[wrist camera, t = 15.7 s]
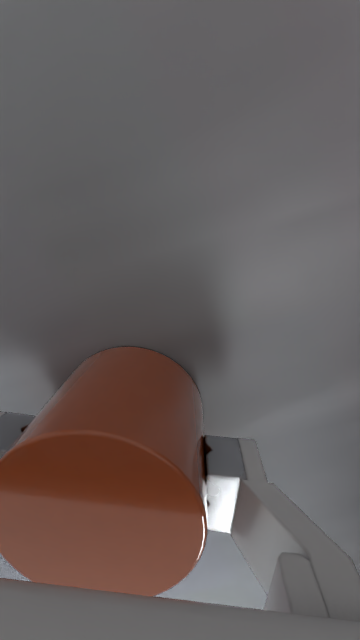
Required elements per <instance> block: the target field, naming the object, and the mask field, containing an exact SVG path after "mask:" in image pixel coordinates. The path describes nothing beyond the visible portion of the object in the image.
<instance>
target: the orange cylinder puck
mask: <svg viewBox="0 0 360 640" xmlns="http://www.w3.org/2000/svg"><path fill="white" fill-rule="evenodd" d="M207 535H208V515H207V493H206V475H205V452H204V425H203V407H202V400H201V397H200V394H199V391H198V389H197V387H196V385H195V383H194V382H193V380H192V378H191V377H190V376H189V375H188V373H187V372H186V371H185V370H184V369H183V368H182V367H181V366H179V365H178V364H177V363H176V362H174V361H173V360H171V359H170V358H168V357H166V356H164V355H162V354H160V353H158V352H155V351H153V350H149V349H145V348H139V347H117V348H111V349H107V350H104V351H101V352H99V353H96V354H94V355H93V356H91V357H89V358H87V359H86V360H85V361H84V362H82V363H81V364H80V365H79V366H78V367H77V368H76V369H75V370H74V372H73V373H72V374H71V375H70V376H69V378H68V379H67V380H66V381H65V382H64V383H63V385H62V386H61V387H60V388H59V389H58V390H57V392H56V393H55V394H54V395H53V396H52V398H51V399H50V400H49V401H48V402H47V403H46V405H45V406H44V407H43V408H42V409H41V410H40V412H39V413H38V414H37V415H36V416H35V418H34V419H33V420H32V421H31V422H30V423H29V425H28V426H27V427H26V428H25V429H24V430H23V432H22V433H21V434H20V435H19V436H18V438H17V439H16V440H15V441H14V442H13V443H12V445H11V446H10V447H9V448H8V449H7V451H6V452H5V453H4V454H3V455H2V456H1V458H0V554H1V555H2V557H3V558H4V559H5V560H6V561H7V562H8V563H9V564H10V565H11V566H12V567H13V568H14V569H15V570H17V571H18V572H19V573H20V574H22V575H23V576H24V577H26V578H27V579H29V580H30V581H32V582H37V583H45V584H53V585H62V586H70V587H78V588H86V589H94V590H103V591H111V592H119V593H128V594H136V595H144V596H156V595H159V594H161V593H163V592H165V591H167V590H169V589H171V588H172V587H174V586H175V585H177V584H178V583H180V582H181V581H182V580H183V579H184V578H185V577H187V576H188V575H189V573H190V572H191V571H192V570H193V569H194V567H195V566H196V564H197V563H198V561H199V559H200V558H201V555H202V552H203V550H204V547H205V545H206V540H207Z"/></svg>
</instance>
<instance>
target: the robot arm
mask: <svg viewBox="0 0 360 640" xmlns="http://www.w3.org/2000/svg"><path fill="white" fill-rule="evenodd" d="M34 418H35V416H34V415H26V414H19V413H12V412H3V411H0V458H1V456H2V455H3V454H4V453H5V452H6V451H7V449H8V448H9V447H10V446H11V445H12V443H13V442H14V441H15V440H16V439H17V438H18V436H19V435H20V434H21V433H22V432H23V430H24V429H25V428H26V427H27V426H28V425H29V423H30V422H31V421H32V420H33V419H34ZM204 452H205V475H206V493H207V515H208V530H212V531H218V532H225V533H231V537H232V538H233V540H234V541H235V543H236V545H237V546H238V548H239V550H240V551H241V553H242V555H243V556H244V558H245V560H246V561H247V563H248V565H249V566H250V568H251V570H252V571H253V573H254V574H255V576H256V578H257V579H258V581H259V583H260V584H261V586H262V588H263V589H264V591H265V593H266V594H267V599H266V603H265V607H264V610H260V609H252V608H244V607H236V606H228V605H219V604H211V603H203V602H194V601H186V600H178V599H169V598H161V597H153V596H144V595H136V594H128V593H119V592H111V591H103V590H94V589H86V588H78V587H70V586H62V585H53V584H45V583H37V582H29V581H21V580H12V579H4V578H0V640H360V576H359V574H358V572H357V570H356V568H355V565H354V563H353V561H352V559H351V558H350V557H349V556H348V555H347V554H346V553H345V552H344V551H343V550H342V549H341V548H340V547H339V546H338V545H337V544H336V543H335V542H334V541H333V540H331V539H330V538H329V537H328V536H327V535H326V534H325V533H324V532H323V531H322V530H321V529H320V528H319V527H318V526H317V525H316V524H315V523H314V522H313V521H312V520H311V519H310V518H309V517H308V516H307V515H306V514H305V513H304V512H303V511H301V510H300V509H299V508H298V507H297V506H296V505H295V504H294V503H293V502H292V501H291V500H290V499H289V498H288V497H287V496H286V495H285V494H284V493H283V492H282V491H281V490H280V489H279V488H278V487H277V486H276V485H275V484H274V483H269V482H268V481H267V478H266V475H265V471H264V468H263V464H262V461H261V458H260V454H259V451H258V447H257V444H256V441H255V440H254V439H246V438H229V437H220V436H211V435H204Z"/></svg>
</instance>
